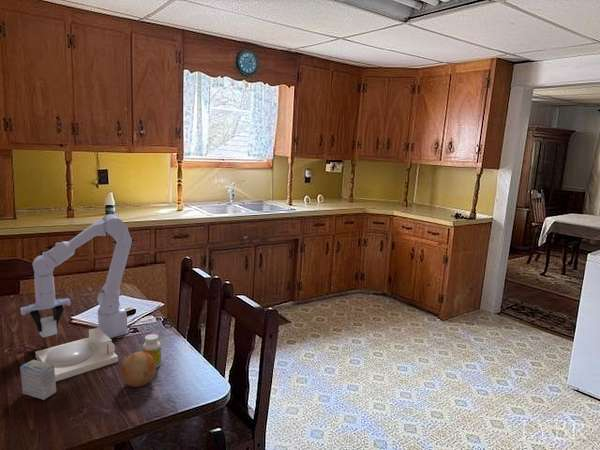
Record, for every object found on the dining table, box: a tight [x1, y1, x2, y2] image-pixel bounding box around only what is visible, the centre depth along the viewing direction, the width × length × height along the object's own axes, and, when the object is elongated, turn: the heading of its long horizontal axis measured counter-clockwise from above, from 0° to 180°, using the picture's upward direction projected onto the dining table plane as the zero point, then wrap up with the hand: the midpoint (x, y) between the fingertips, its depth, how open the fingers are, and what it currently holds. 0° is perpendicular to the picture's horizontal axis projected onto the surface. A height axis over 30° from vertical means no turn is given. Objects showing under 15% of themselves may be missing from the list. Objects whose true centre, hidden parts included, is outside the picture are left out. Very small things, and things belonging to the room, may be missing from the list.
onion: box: [120, 350, 157, 388], centre depth 129 cm, size 10×10×10 cm
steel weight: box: [38, 315, 58, 338], centre depth 148 cm, size 4×4×5 cm
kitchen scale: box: [35, 327, 119, 382], centre depth 141 cm, size 19×19×6 cm
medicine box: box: [19, 359, 57, 401], centre depth 122 cm, size 8×4×9 cm, turn 71°
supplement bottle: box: [142, 333, 162, 368], centre depth 140 cm, size 5×5×10 cm
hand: (47, 328), depth 149 cm, fingers closed on steel weight, 4 cm apart
